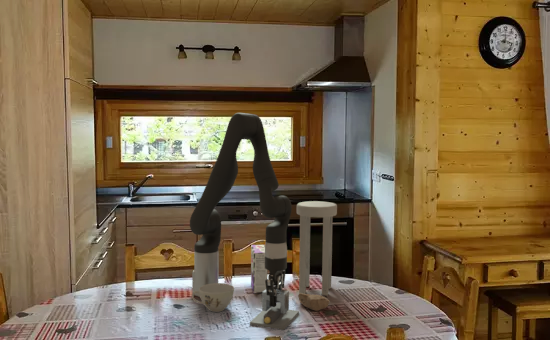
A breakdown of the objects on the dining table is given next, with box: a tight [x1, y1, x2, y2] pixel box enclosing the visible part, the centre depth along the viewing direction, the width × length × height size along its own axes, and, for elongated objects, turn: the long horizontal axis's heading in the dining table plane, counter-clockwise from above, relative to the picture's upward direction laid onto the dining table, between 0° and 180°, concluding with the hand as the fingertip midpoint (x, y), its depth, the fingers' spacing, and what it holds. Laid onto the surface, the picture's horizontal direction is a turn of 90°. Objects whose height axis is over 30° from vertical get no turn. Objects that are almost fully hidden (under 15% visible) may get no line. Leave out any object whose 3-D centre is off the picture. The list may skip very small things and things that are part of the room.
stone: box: [297, 292, 331, 312], centre depth 197 cm, size 9×11×5 cm
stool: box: [296, 200, 338, 297], centre depth 214 cm, size 16×16×35 cm
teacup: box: [191, 282, 235, 313], centre depth 192 cm, size 15×12×8 cm
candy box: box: [250, 244, 269, 294], centre depth 217 cm, size 14×6×16 cm, turn 6°
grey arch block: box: [261, 289, 290, 314], centre depth 183 cm, size 8×4×6 cm, turn 70°
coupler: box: [249, 302, 300, 331], centre depth 183 cm, size 12×16×4 cm
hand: (275, 303), depth 183 cm, fingers closed on grey arch block, 4 cm apart
